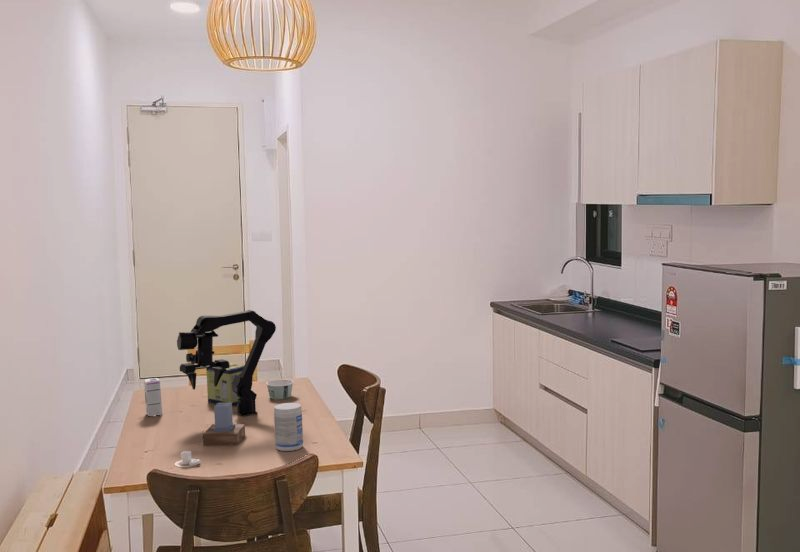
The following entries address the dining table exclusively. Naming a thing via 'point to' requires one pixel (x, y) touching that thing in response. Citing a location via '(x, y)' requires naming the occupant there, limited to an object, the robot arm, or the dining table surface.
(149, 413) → the syrup box
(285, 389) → the food container
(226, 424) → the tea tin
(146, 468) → the dining table surface
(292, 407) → the supplement tub
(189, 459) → the teacup and saucer
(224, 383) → the protein box
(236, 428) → the stack block
